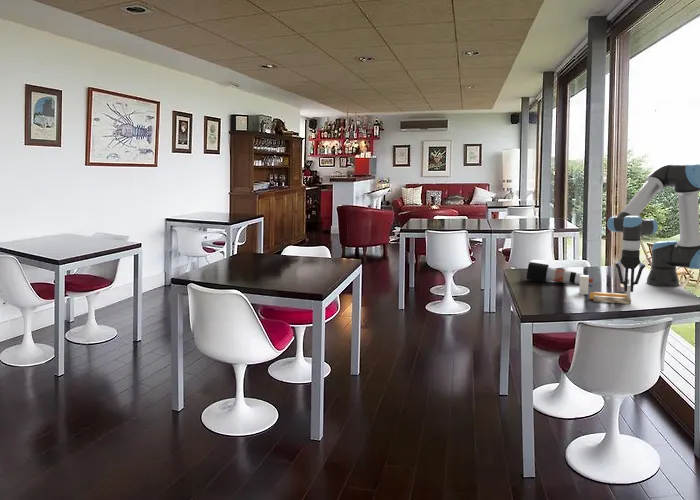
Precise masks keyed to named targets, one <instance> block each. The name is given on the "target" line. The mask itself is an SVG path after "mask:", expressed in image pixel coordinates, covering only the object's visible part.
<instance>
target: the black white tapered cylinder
mask: <svg viewBox="0 0 700 500" xmlns="http://www.w3.org/2000/svg"><path fill="white" fill-rule="evenodd" d="M580 275H584V273H581V272H576V271H571V270H570V271H569V270H565V269H560V268H555V267H551V266H550V265H549V264H545V263H540V262H534V261H530V262H529V263H528V267H527V272H526V280H527V281H528V280H529V281H533V282H534V281H535V282H540V283H546V282H547V281H549V282H550V281H551V282H557V283H563V284H564V283H567V284H572V285H580ZM589 283H592V284H593V283H594V278H590V277H589Z"/></svg>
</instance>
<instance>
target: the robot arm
mask: <svg viewBox="0 0 700 500" xmlns="http://www.w3.org/2000/svg"><path fill="white" fill-rule="evenodd" d="M669 187H671V188H674V189H673V190H674V193H675V194H677V195H678V196H677V197H678V198H677V199H678V218H679V219H678V221H679V241H677V240H664V241H663V240H661V241H655V242H654V243H652V249H651V267H650V271H649V273H648V275H647V277H646V283H647V284H648V285H651V286H657V287H658V286H659V287H679V285H680V281H679V277H678V273H677V267H678V268H685V269H690V270H700V213H699V212H700V210H699V193H700V163H692V162H690V163H689V162H684V163H674V162H673V163H665V164H664V165H661V166H659V167H657V168H655V170H653V171H652V172H651V173H650V174H649V175H647V176H646V178H645V179H644V184H643V185H642V186H641V187H640V188H639V189H638V191H637V192H636V193H635V194H634V196H633V197H632V198H631V199H630V201H629V202H628V203H627V204H626V205H625V207H624V208H623V209H622V210H621V211H620V213H619V214H618V215H617V216H615V215H614V216H610V217H609V218H608V219H607V223H606V226H607V229H608V230H609V231H611V232H613V233H614V232H615V233H622V243H621V247H622V249H621V258H620V260H619V261H618V262H615V264H614V265H615V267H616V268H617V271H618V278H619V282H620V284H624V288H623V291H625V292H627V293H626V294H627V298H631V293H633V292H634V285H635V286H636V285H638V284H639V281H640V279H641V276H642V272H643V270H644V268H645V267H646V264H645V263H642V261H641V260H640V253H641V250H640V249H641V237H642V236H647V235H648V236H649V235H653V234H655V233H657V231H658V230H659V229H658V228H659V224H658V222H657V220H656V219H653V218H642V216H640V214H641V213H642V212H643V211H644V209H645V208H647V206H648V205H649V204H650V203H651V201H652V200H653V199H654V198H655V196H656V194H658V193H659V192H661V191H663V190H664V188H669ZM621 267H623V268H624V277H623V274H622V270H621ZM637 267H639V269H638V271H637V273H636V277H635V269H636V268H637ZM629 270H631V271H630V283H629V284H628V279H629ZM623 278H625V280H624V279H623Z"/></svg>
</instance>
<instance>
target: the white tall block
mask: <svg viewBox="0 0 700 500" xmlns="http://www.w3.org/2000/svg"><path fill="white" fill-rule="evenodd" d="M589 278H590V275H589V274H588V275H587V274H583V275H580V284H579V289H578V290H579V291H578V292H579V295H589V283H590V282H589Z"/></svg>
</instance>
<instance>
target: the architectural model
mask: <svg viewBox="0 0 700 500" xmlns="http://www.w3.org/2000/svg"><path fill="white" fill-rule="evenodd" d="M623 278H624V279H623V281H625V277H623ZM628 284H630V279H629V278H628ZM619 286H620V287H621V288H623V289H624V284H622V283H620V284H619ZM623 291H624V290H623ZM623 294H627V292H625V291H624V292H623Z"/></svg>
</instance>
